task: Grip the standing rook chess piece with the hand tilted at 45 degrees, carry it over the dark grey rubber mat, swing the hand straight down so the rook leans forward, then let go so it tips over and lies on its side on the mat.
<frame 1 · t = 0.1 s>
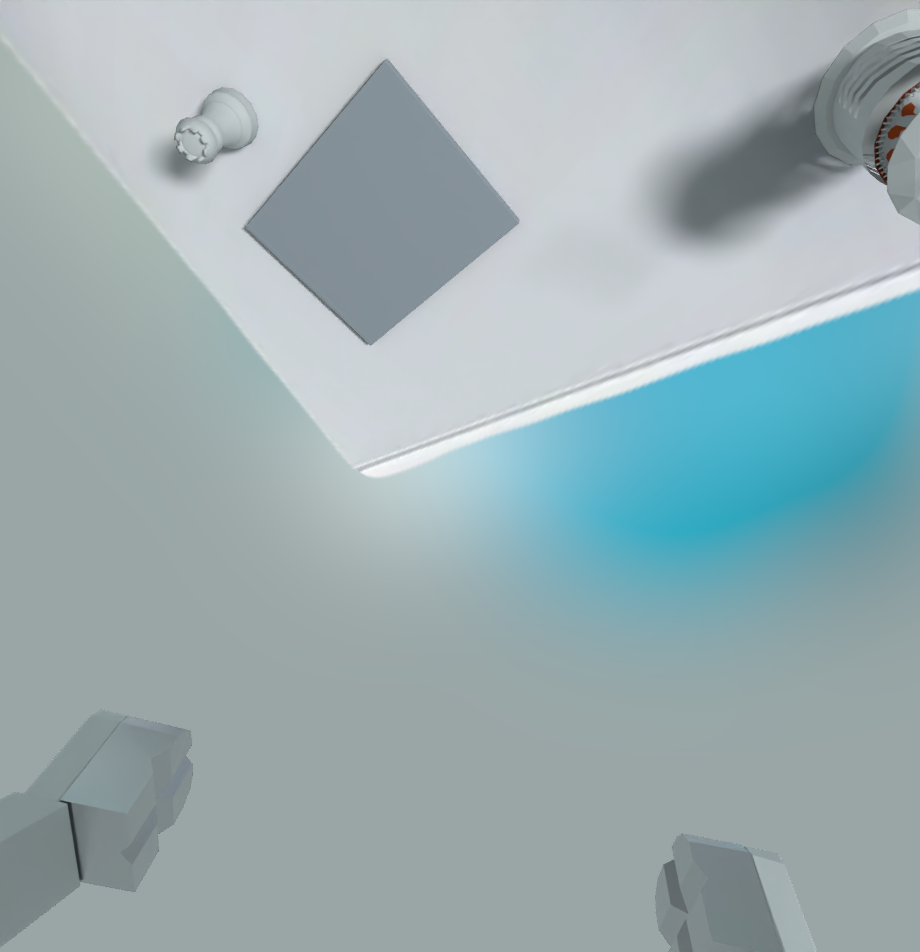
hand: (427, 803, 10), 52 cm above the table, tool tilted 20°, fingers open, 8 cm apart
french press: (903, 84, 45), on the table
rook chess piece: (235, 115, 53), on the table
mat: (378, 222, 58), on the table
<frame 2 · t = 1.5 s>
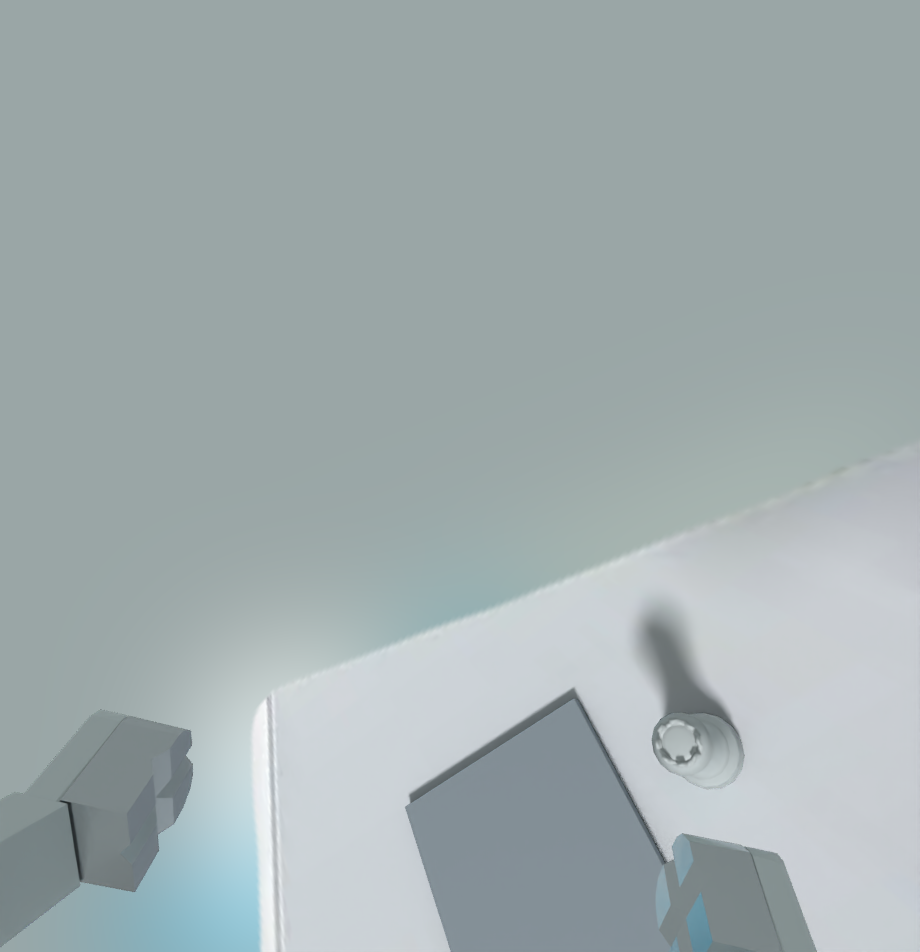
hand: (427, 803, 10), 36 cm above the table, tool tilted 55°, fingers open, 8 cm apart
rook chess piece: (708, 750, 41), on the table
mat: (553, 902, 41), on the table
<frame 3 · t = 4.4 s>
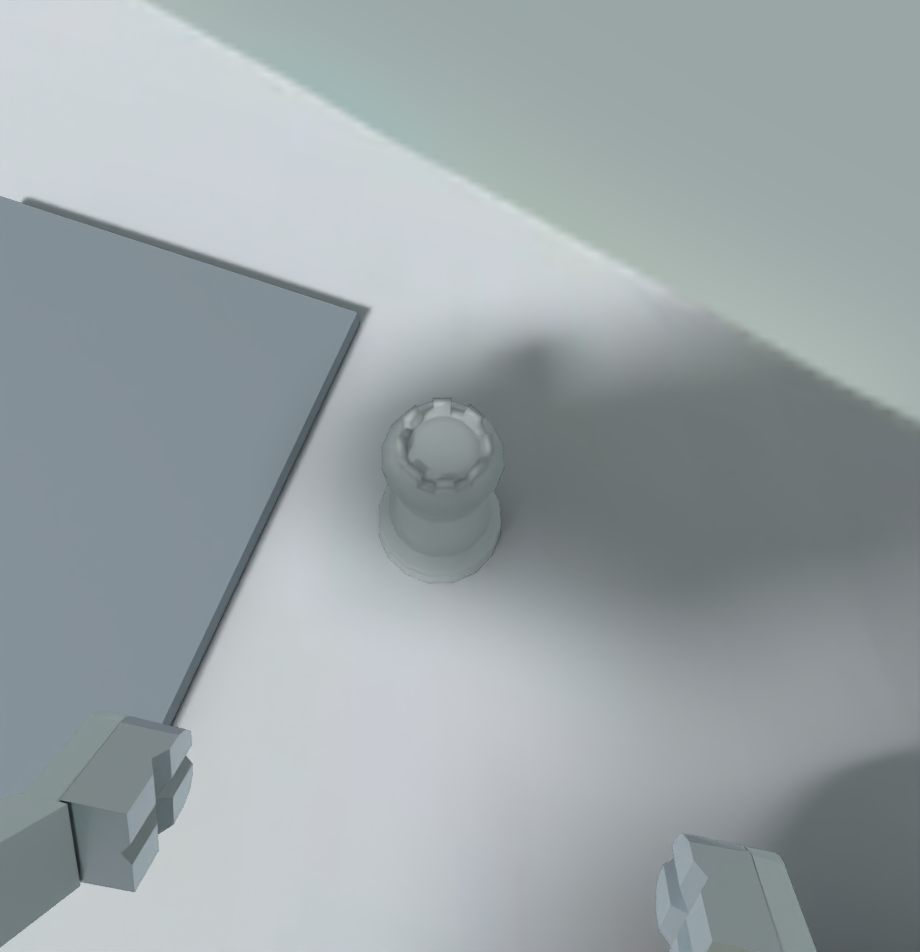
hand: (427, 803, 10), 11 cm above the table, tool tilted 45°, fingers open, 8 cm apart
rook chess piece: (439, 527, 24), on the table
mat: (54, 475, 23), on the table
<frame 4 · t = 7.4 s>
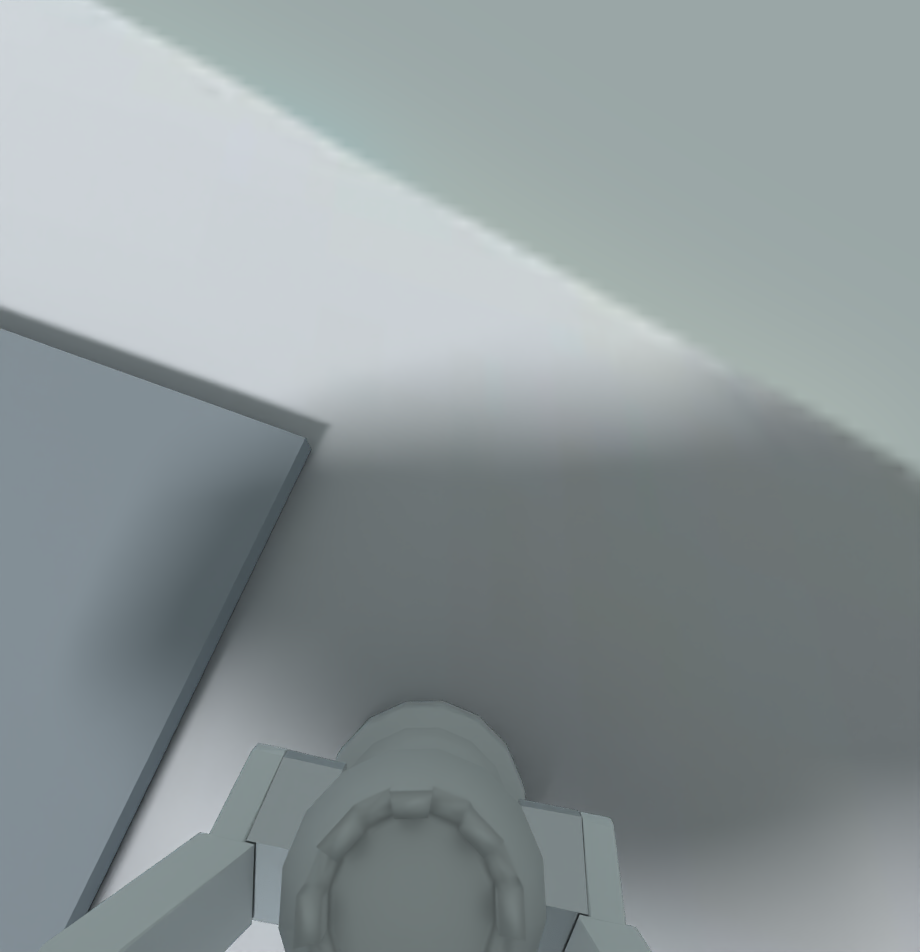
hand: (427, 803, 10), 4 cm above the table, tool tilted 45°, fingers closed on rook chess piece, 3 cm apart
rook chess piece: (425, 802, 15), on the table, touching gripper
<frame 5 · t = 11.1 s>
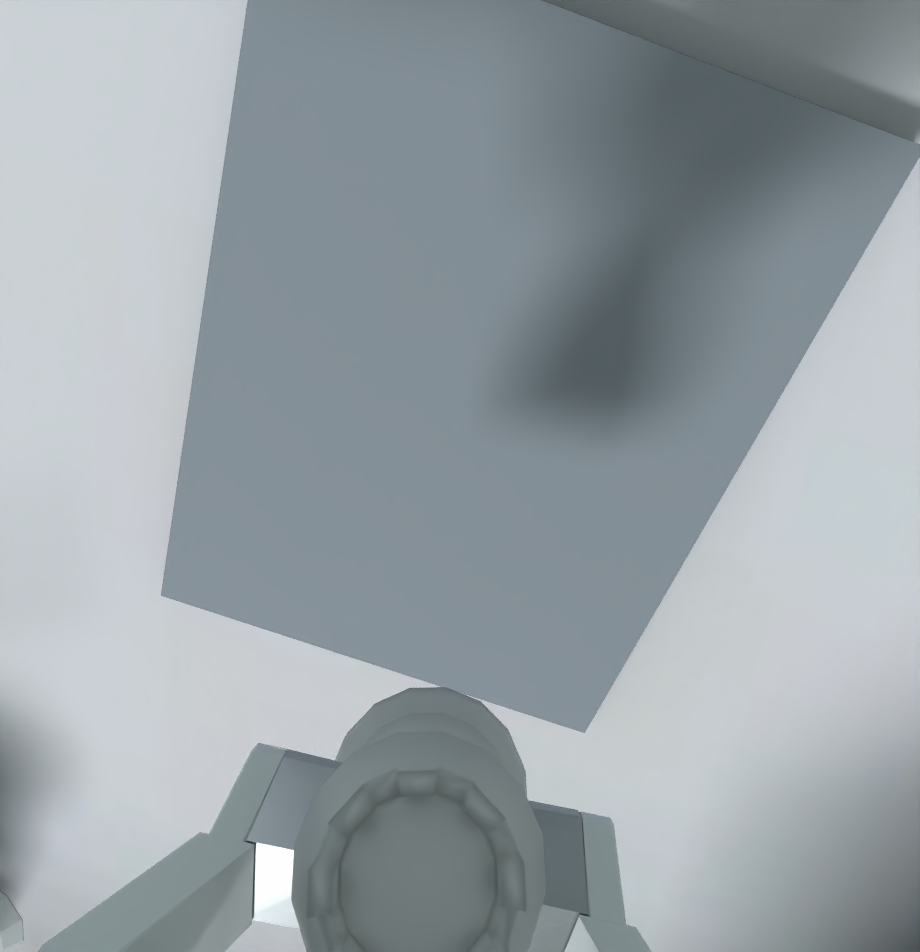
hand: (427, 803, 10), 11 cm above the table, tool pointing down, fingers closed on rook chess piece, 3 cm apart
rook chess piece: (428, 785, 15), point 8 cm above the table, touching gripper
mat: (466, 409, 19), on the table
when the fingers open (6 cm above the table, at t = 13.2 s): rook chess piece moves 7 cm, resting on mat.
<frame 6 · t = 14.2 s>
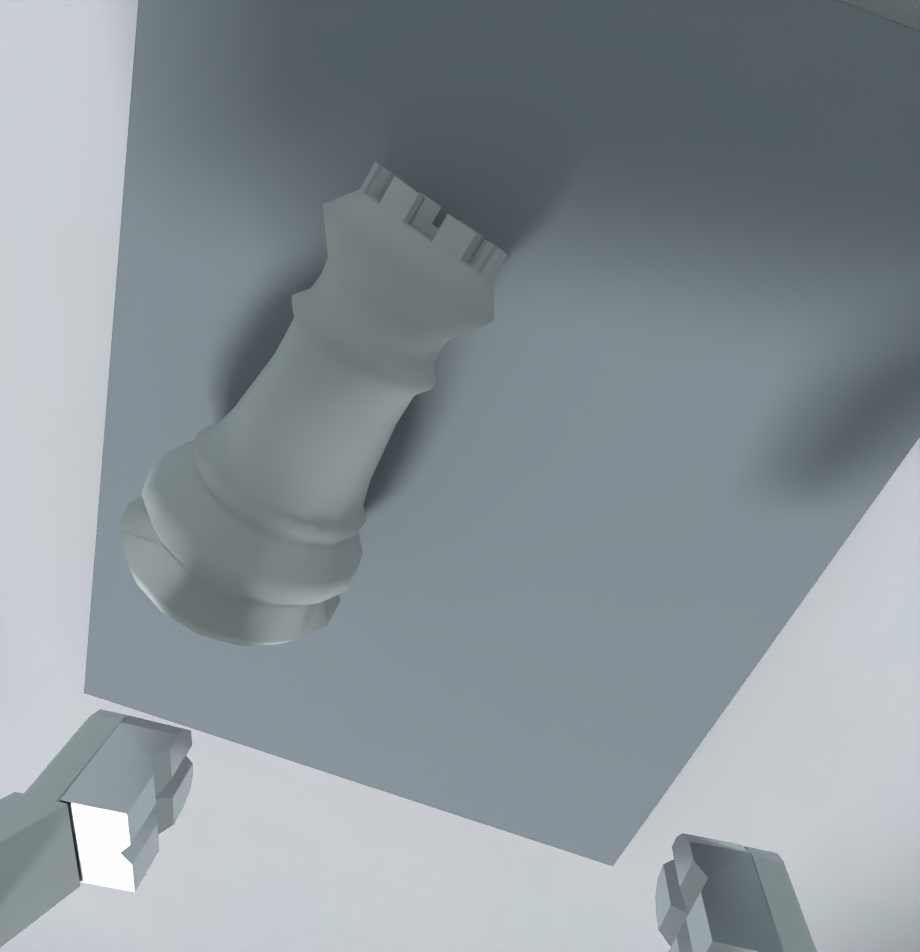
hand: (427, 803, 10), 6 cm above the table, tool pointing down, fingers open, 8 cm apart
rook chess piece: (224, 580, 13), point 3 cm above the table, touching mat
mat: (464, 474, 15), on the table
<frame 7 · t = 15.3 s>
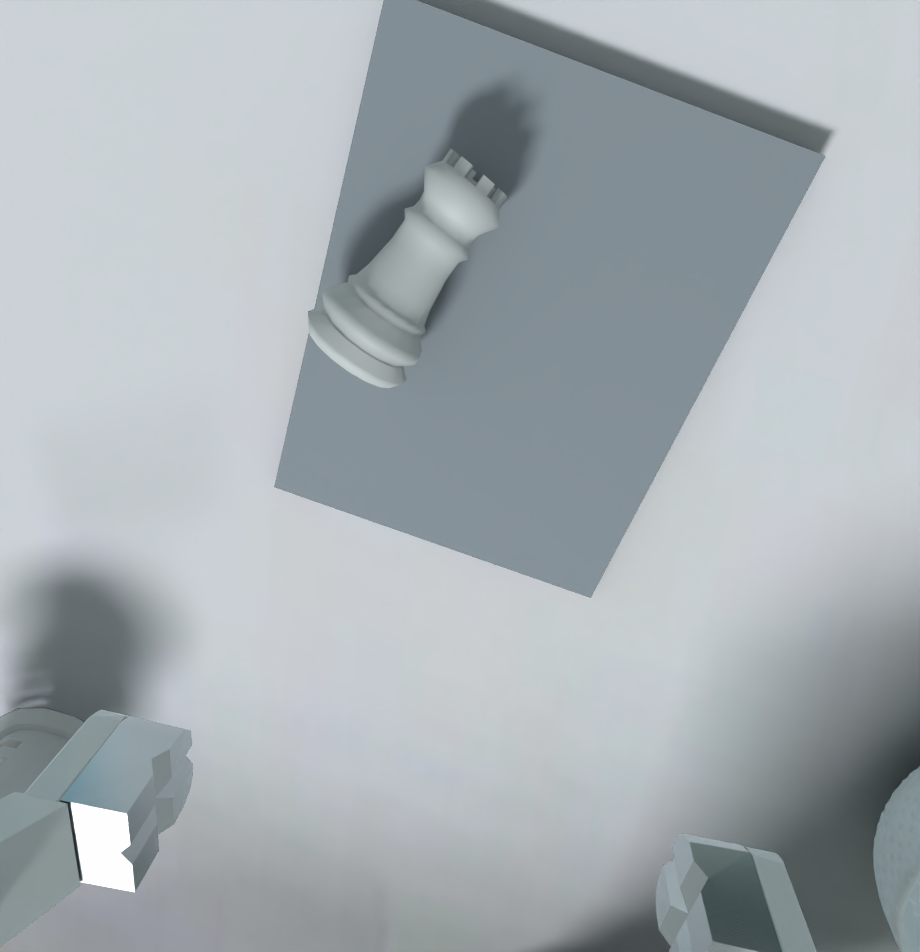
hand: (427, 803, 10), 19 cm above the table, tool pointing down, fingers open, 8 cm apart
french press: (61, 769, 42), on the table
rook chess piece: (348, 360, 24), point 3 cm above the table, touching mat
mat: (507, 342, 27), on the table
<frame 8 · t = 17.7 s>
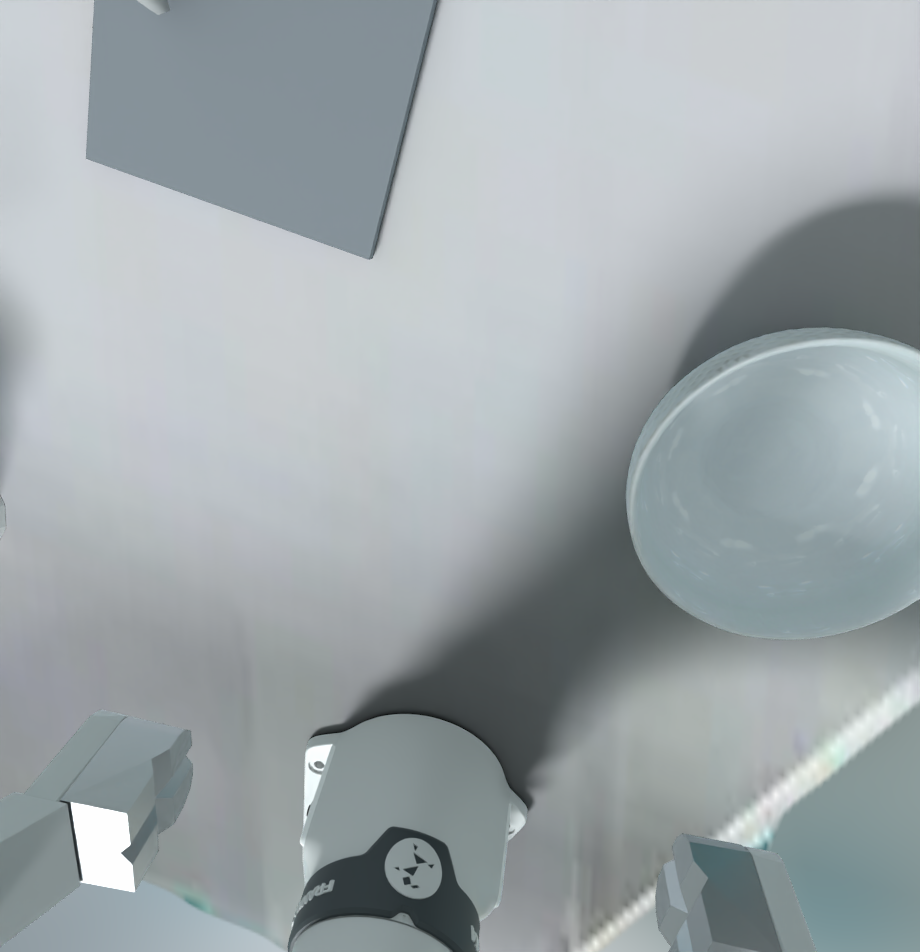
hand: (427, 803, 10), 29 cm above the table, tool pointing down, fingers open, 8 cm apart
cereal bowl: (760, 450, 38), on the table
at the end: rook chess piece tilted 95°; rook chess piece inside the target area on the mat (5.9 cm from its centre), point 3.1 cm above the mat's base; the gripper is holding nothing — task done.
